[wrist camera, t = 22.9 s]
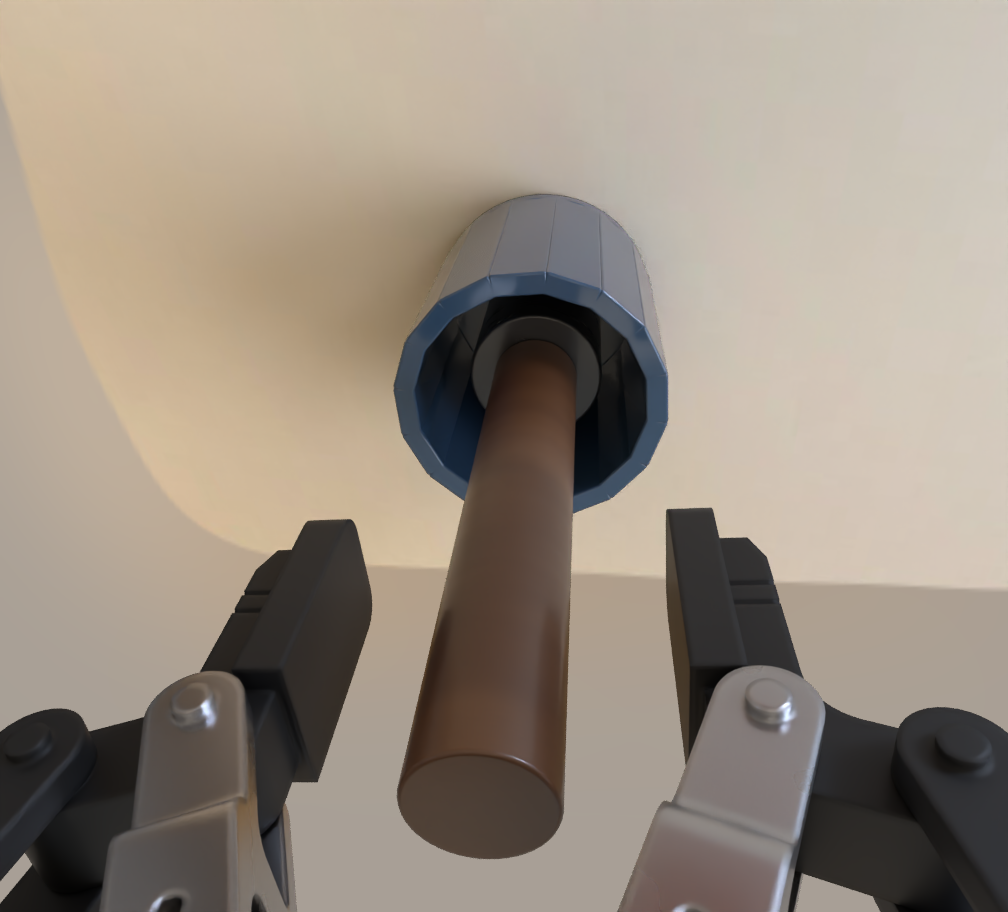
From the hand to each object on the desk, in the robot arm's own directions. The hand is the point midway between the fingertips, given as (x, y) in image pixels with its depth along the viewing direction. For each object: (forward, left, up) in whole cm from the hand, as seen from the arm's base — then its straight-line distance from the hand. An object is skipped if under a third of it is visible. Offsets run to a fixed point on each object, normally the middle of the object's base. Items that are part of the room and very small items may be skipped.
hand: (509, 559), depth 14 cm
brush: (0, 0, -12) cm, 12 cm away
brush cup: (0, 0, -13) cm, 13 cm away
